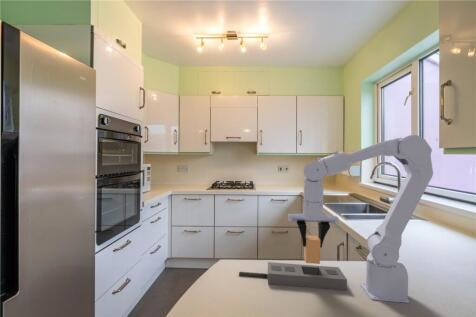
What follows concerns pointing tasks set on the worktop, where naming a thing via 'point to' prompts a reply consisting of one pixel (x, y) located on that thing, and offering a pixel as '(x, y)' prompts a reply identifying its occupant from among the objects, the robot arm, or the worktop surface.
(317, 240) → the orange rectangular block
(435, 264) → the worktop surface
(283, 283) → the power strip
